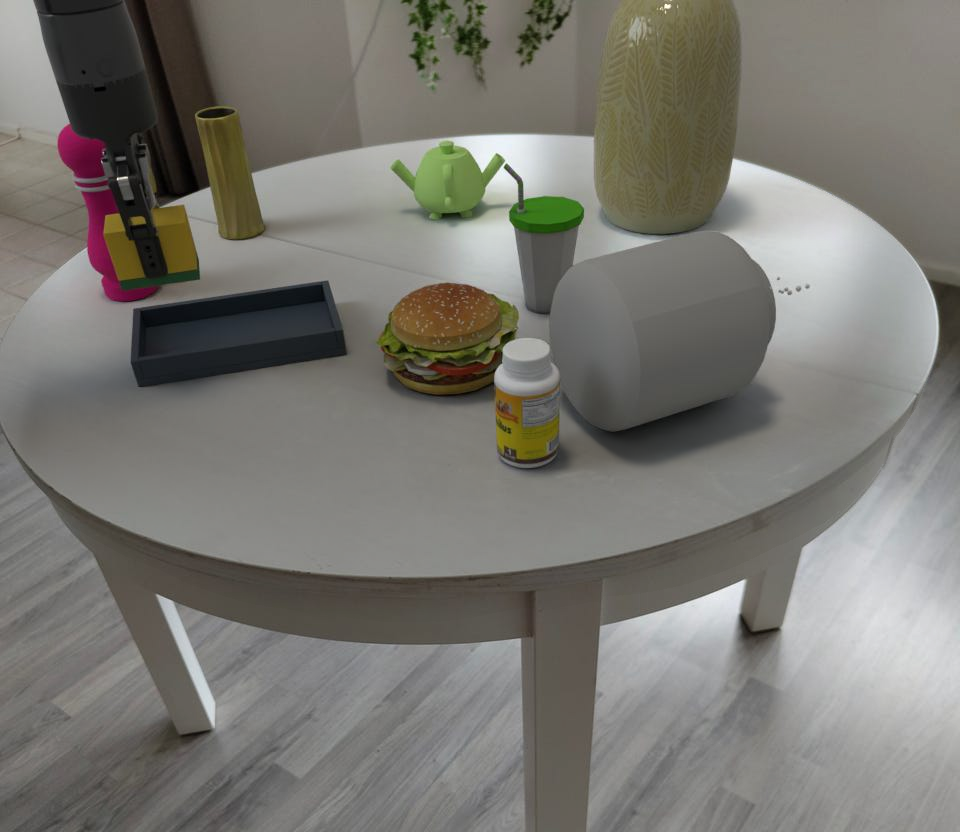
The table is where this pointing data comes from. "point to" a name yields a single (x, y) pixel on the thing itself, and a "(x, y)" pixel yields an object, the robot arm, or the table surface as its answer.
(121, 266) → the sponge
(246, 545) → the table surface
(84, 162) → the pepper mill
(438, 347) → the food
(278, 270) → the table surface
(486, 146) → the table surface
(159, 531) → the table surface
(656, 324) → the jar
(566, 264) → the cup
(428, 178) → the teapot
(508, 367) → the supplement bottle
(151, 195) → the robot arm
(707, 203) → the vase
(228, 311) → the tray
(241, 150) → the vase
